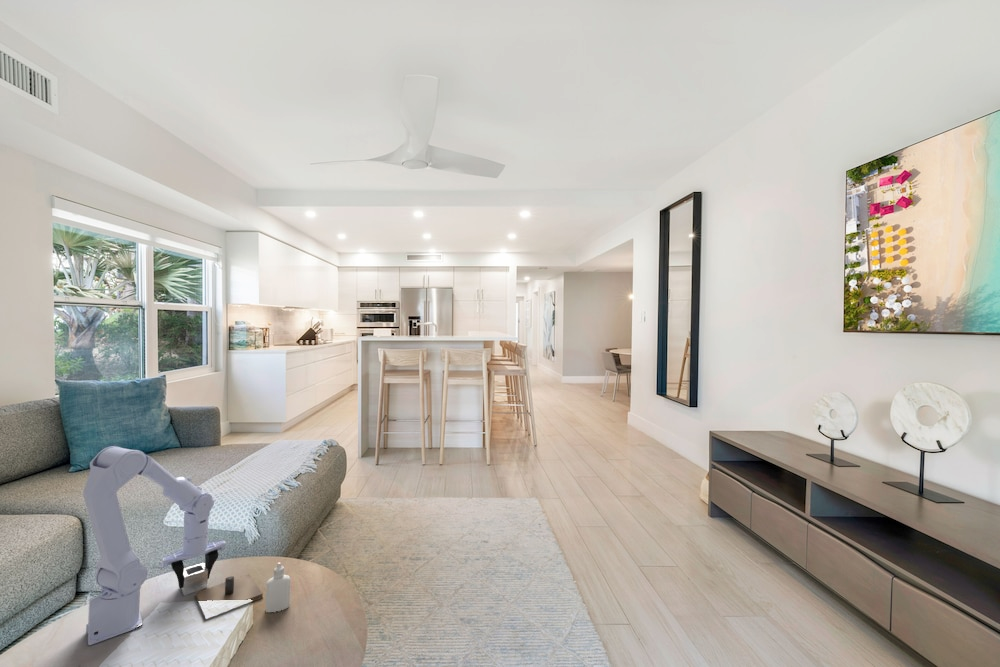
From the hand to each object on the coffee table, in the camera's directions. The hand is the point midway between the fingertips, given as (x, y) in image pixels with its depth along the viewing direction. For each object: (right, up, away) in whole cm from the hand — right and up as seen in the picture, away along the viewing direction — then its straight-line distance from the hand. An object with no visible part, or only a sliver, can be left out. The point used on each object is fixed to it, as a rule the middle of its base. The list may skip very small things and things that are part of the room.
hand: (194, 582), depth 117 cm
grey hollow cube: (0, -1, 0) cm, 1 cm away
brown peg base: (+13, -2, -4) cm, 13 cm away
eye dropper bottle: (+28, -2, -8) cm, 30 cm away
